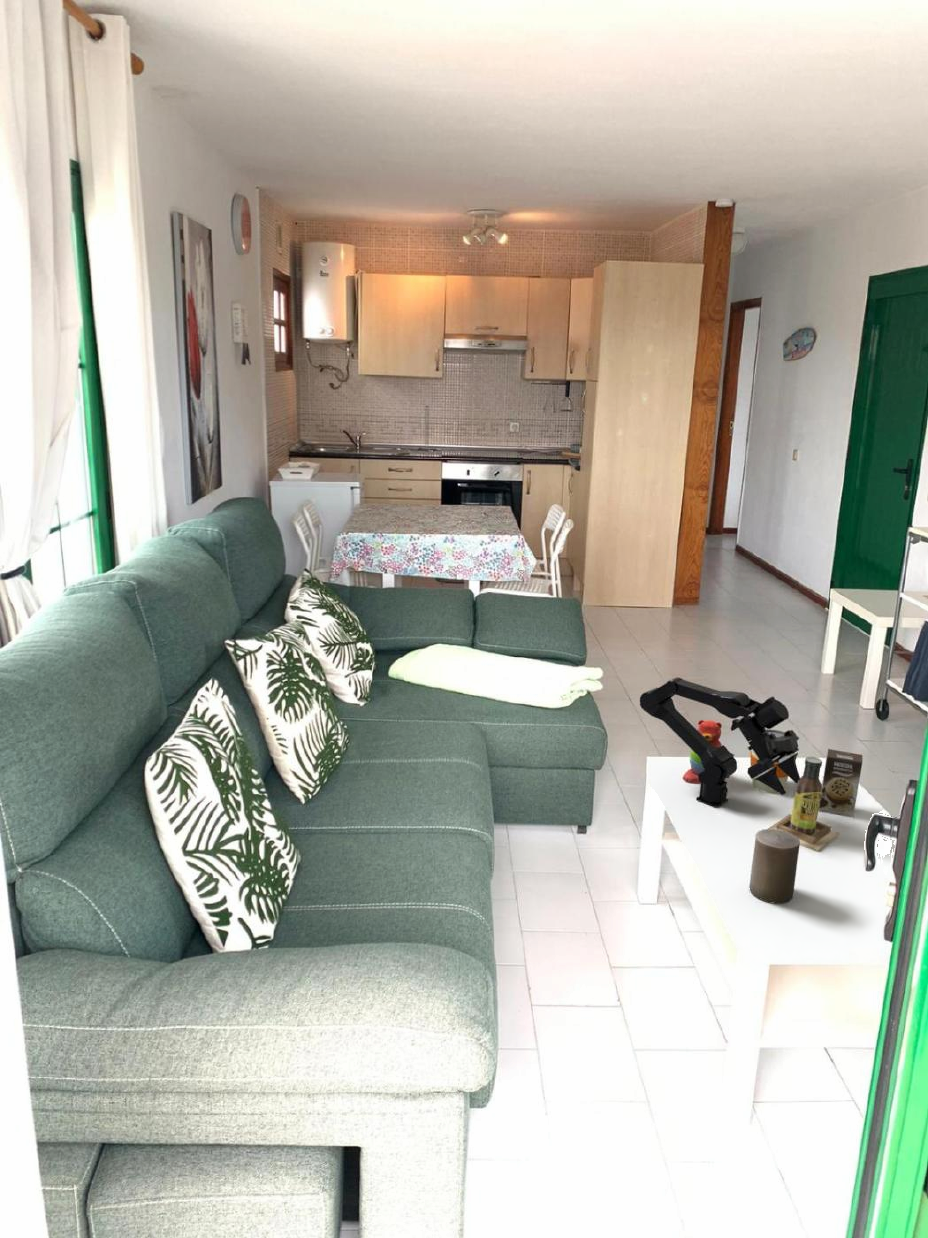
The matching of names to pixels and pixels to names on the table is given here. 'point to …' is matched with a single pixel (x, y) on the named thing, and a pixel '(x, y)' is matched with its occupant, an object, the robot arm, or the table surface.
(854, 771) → the cookie box
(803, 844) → the cradle
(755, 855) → the pillar candle
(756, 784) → the reusable coffee cup
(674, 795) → the table surface
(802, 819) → the sauce bottle
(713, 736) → the stacking bear
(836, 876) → the table surface
